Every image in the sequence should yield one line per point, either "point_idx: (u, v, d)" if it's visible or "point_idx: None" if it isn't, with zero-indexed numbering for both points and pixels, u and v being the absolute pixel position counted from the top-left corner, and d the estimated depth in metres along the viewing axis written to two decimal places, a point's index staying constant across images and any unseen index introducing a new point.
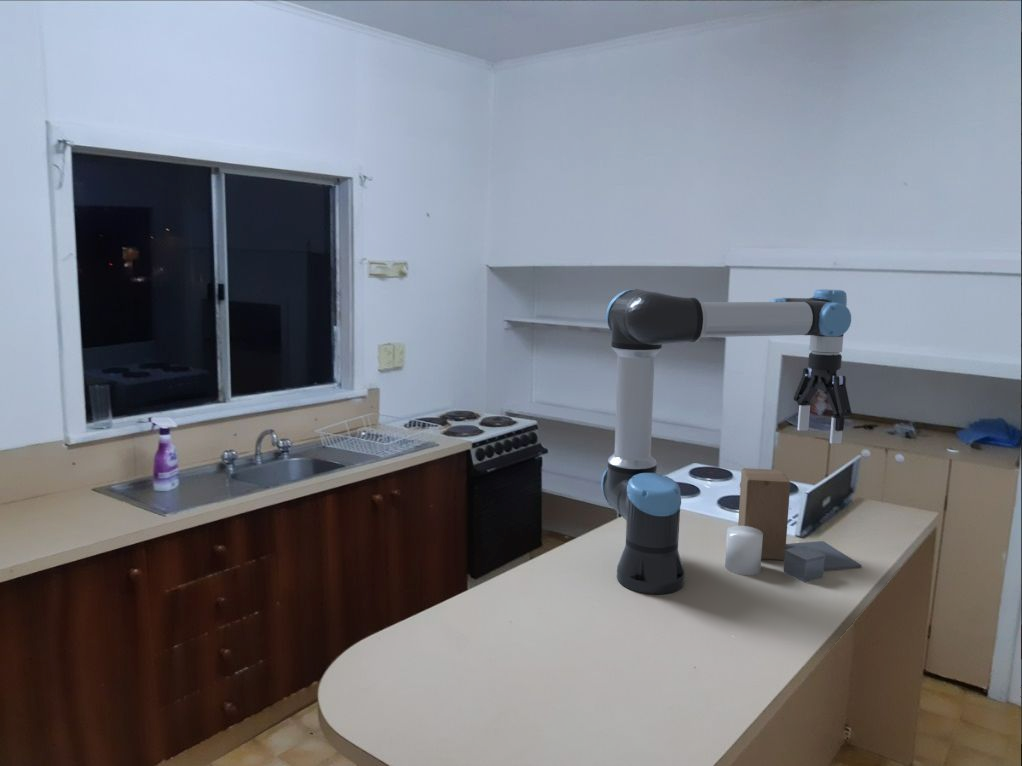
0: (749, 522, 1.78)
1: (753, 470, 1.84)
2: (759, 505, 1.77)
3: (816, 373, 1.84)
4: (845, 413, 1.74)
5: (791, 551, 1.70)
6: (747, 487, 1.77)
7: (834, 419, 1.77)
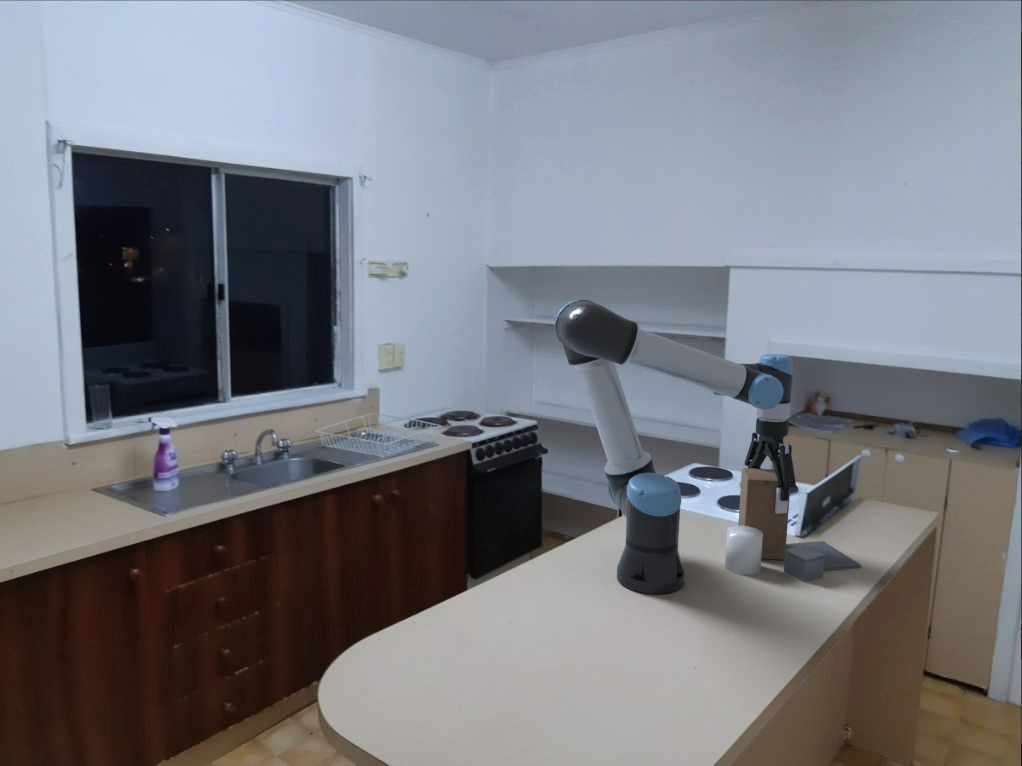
0: (750, 522, 1.78)
1: (754, 470, 1.84)
2: (759, 505, 1.77)
3: (764, 438, 1.80)
4: (789, 484, 1.71)
5: (791, 551, 1.70)
6: (747, 487, 1.77)
7: (779, 489, 1.74)
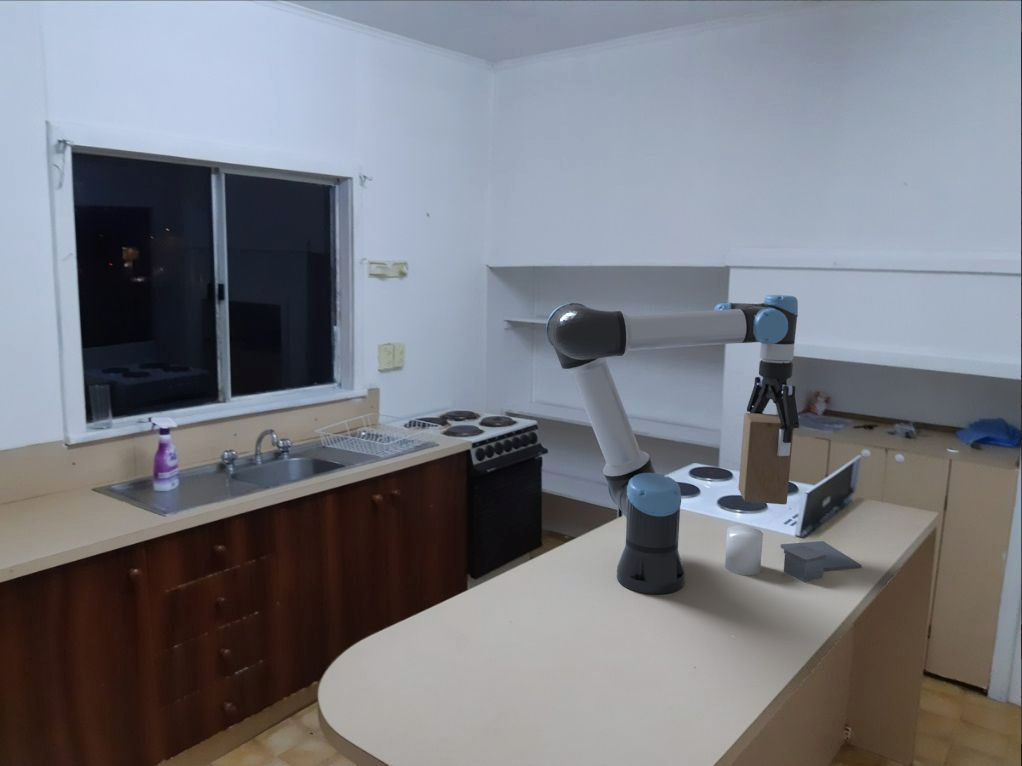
0: (752, 465, 1.76)
1: (756, 414, 1.81)
2: (762, 448, 1.75)
3: (767, 381, 1.78)
4: (792, 425, 1.69)
5: (791, 551, 1.70)
6: (750, 429, 1.75)
7: (782, 431, 1.72)
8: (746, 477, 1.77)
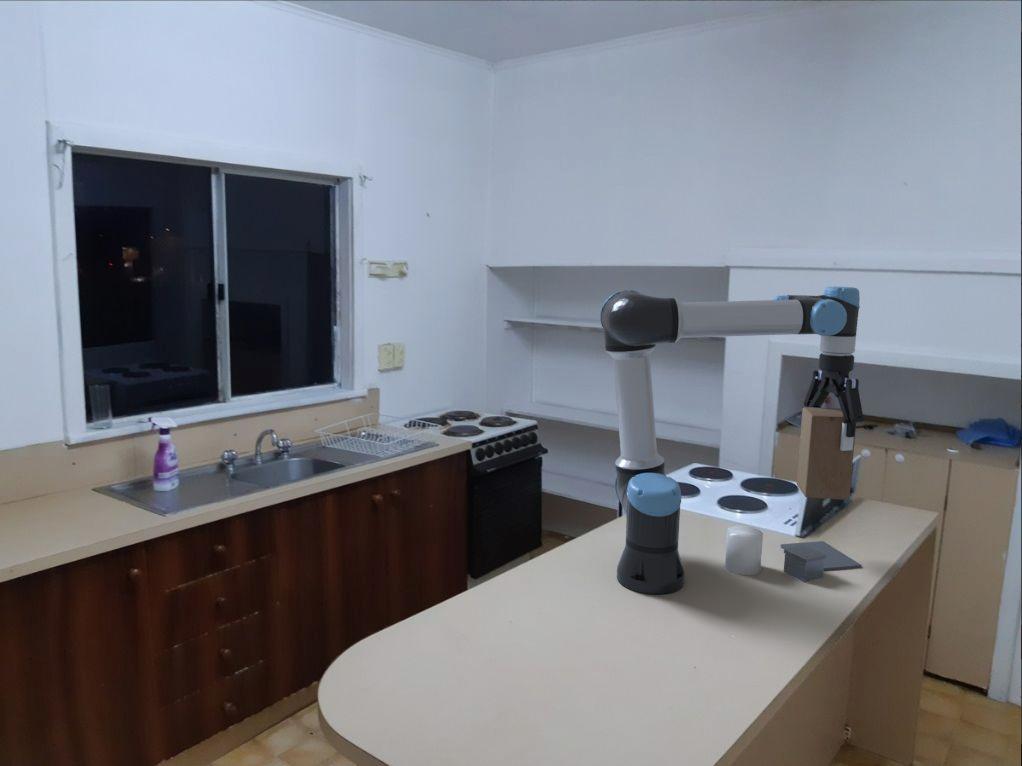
0: (813, 460, 1.73)
1: (815, 408, 1.78)
2: (824, 442, 1.71)
3: (827, 374, 1.74)
4: (857, 419, 1.65)
5: (791, 551, 1.70)
6: (811, 423, 1.71)
7: (845, 425, 1.68)
8: (807, 472, 1.73)
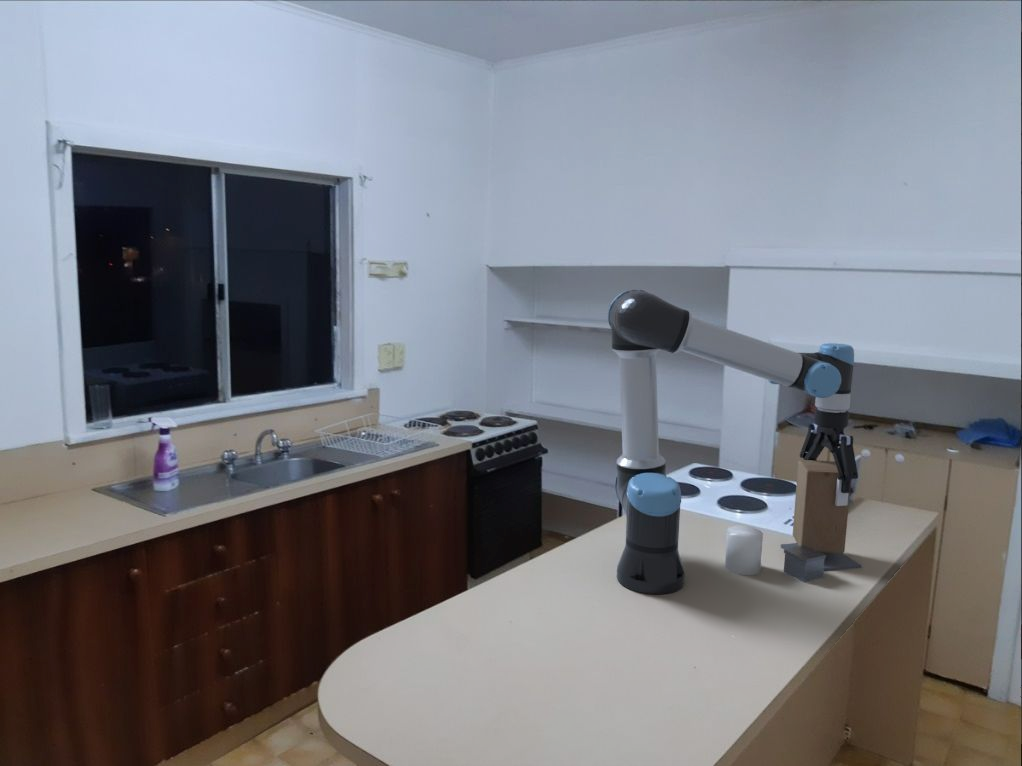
0: (809, 515, 1.75)
1: (811, 462, 1.80)
2: (819, 497, 1.74)
3: (822, 429, 1.77)
4: (851, 476, 1.68)
5: (791, 551, 1.70)
6: (807, 479, 1.74)
7: (840, 481, 1.71)
8: (803, 526, 1.76)
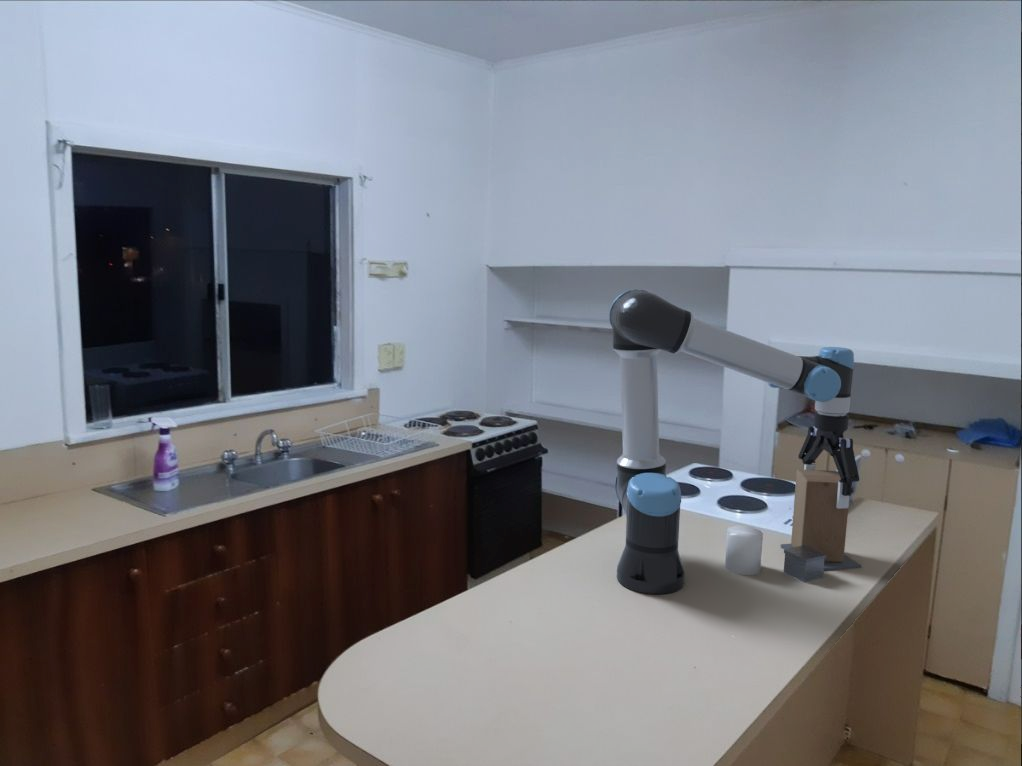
0: (808, 525, 1.75)
1: (809, 471, 1.81)
2: (818, 507, 1.74)
3: (822, 433, 1.77)
4: (852, 478, 1.67)
5: (791, 551, 1.70)
6: (806, 489, 1.74)
7: (841, 483, 1.70)
8: (802, 536, 1.76)
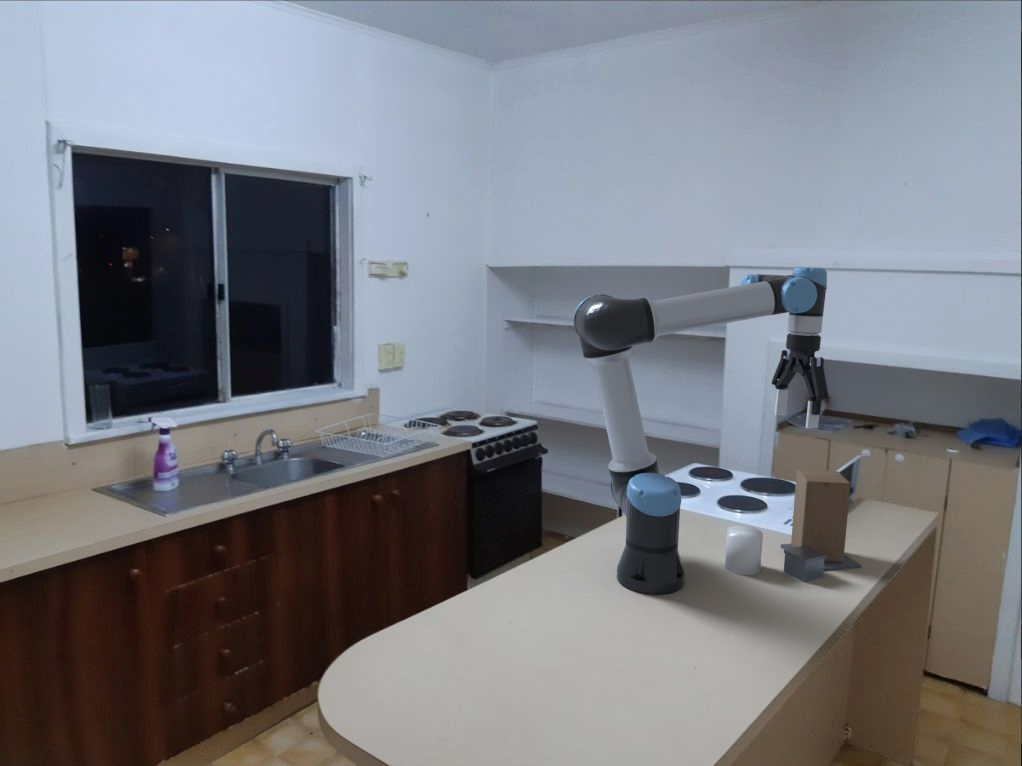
0: (808, 525, 1.75)
1: (809, 471, 1.81)
2: (818, 507, 1.74)
3: (794, 355, 1.76)
4: (822, 396, 1.66)
5: (791, 551, 1.70)
6: (806, 489, 1.74)
7: (810, 402, 1.69)
8: (802, 536, 1.76)
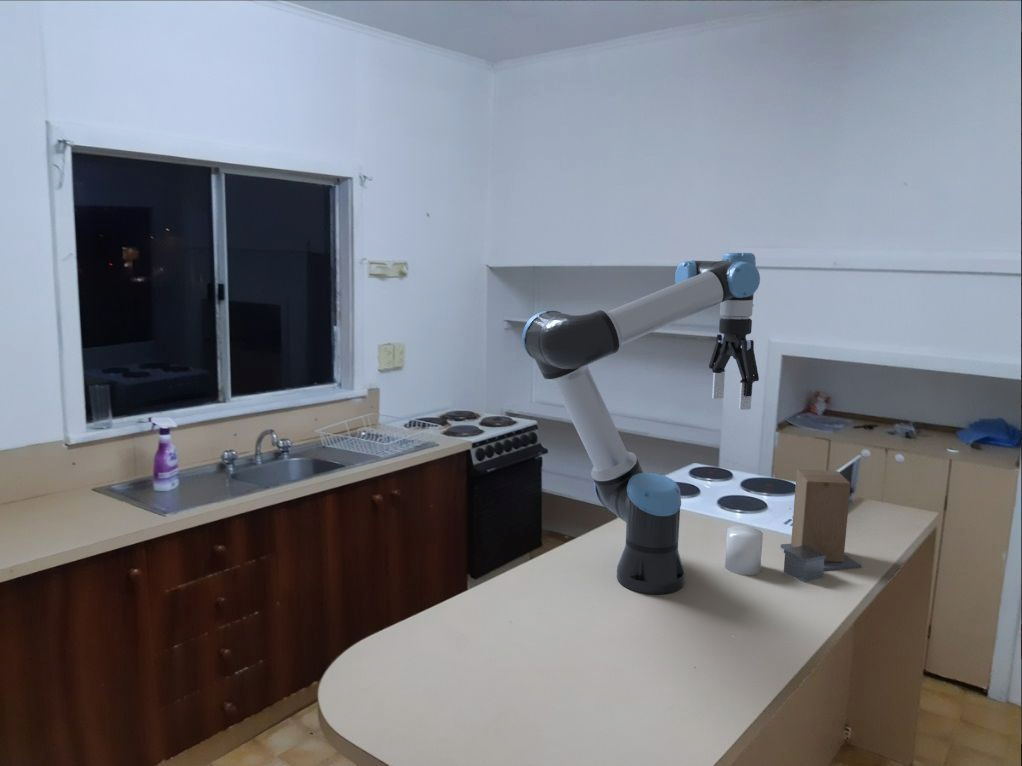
0: (808, 525, 1.75)
1: (809, 471, 1.81)
2: (818, 507, 1.74)
3: (727, 338, 1.80)
4: (752, 377, 1.71)
5: (791, 551, 1.70)
6: (806, 489, 1.74)
7: (742, 384, 1.74)
8: (802, 536, 1.76)
